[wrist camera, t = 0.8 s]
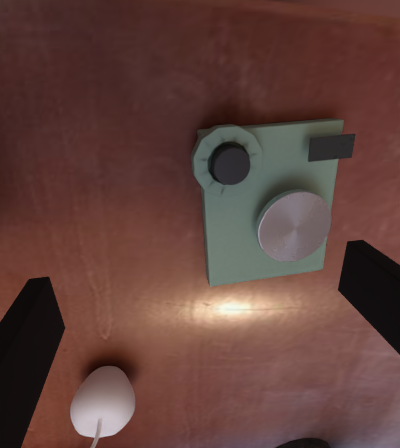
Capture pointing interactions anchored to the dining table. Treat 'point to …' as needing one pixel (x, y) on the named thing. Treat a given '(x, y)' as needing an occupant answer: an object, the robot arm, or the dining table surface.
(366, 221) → the dining table surface
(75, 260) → the dining table surface
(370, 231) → the dining table surface
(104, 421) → the plain white apple
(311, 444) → the lantern
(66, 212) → the dining table surface
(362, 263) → the robot arm
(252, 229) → the scale
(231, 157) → the button
